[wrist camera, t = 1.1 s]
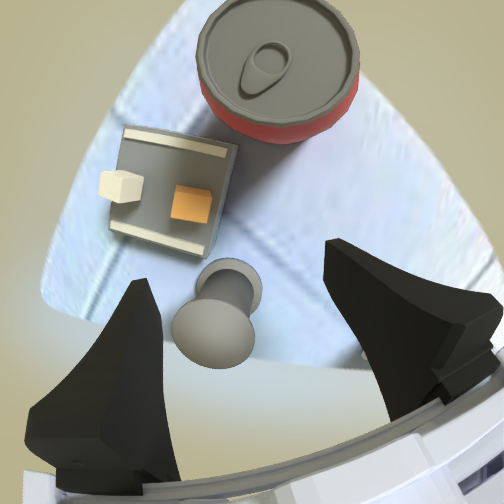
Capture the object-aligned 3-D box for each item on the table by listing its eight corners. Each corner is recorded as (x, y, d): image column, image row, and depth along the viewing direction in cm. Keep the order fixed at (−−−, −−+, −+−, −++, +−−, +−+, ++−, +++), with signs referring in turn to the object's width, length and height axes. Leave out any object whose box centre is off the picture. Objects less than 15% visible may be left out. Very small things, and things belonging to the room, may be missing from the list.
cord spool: (270, 268, 24) (264, 315, 17) (253, 322, 26) (242, 377, 19) (205, 249, 24) (177, 289, 17) (194, 305, 26) (167, 355, 19)
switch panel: (239, 145, 21) (232, 145, 18) (214, 247, 24) (205, 260, 21) (139, 125, 21) (122, 123, 18) (123, 221, 24) (106, 230, 21)
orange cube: (209, 190, 19) (212, 197, 18) (204, 213, 20) (206, 223, 18) (176, 184, 19) (175, 191, 17) (171, 208, 19) (170, 217, 18)
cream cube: (144, 176, 19) (122, 178, 17) (140, 200, 19) (119, 203, 18) (122, 169, 19) (101, 171, 18) (119, 191, 20) (98, 194, 18)
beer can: (216, 113, 20) (146, 83, 9) (267, 42, 18) (249, -48, 7) (293, 162, 21) (306, 181, 10) (344, 91, 19) (406, 40, 8)
